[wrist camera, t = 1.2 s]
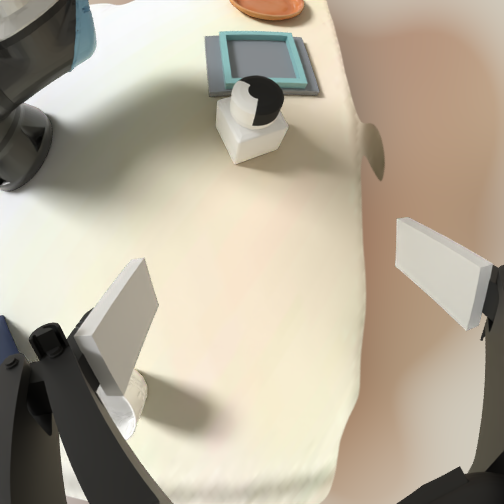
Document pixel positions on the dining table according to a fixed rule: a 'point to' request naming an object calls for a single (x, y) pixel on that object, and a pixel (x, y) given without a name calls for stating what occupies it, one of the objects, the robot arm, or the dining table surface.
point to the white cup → (126, 404)
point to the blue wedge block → (6, 341)
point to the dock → (258, 61)
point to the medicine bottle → (251, 118)
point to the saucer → (269, 8)
